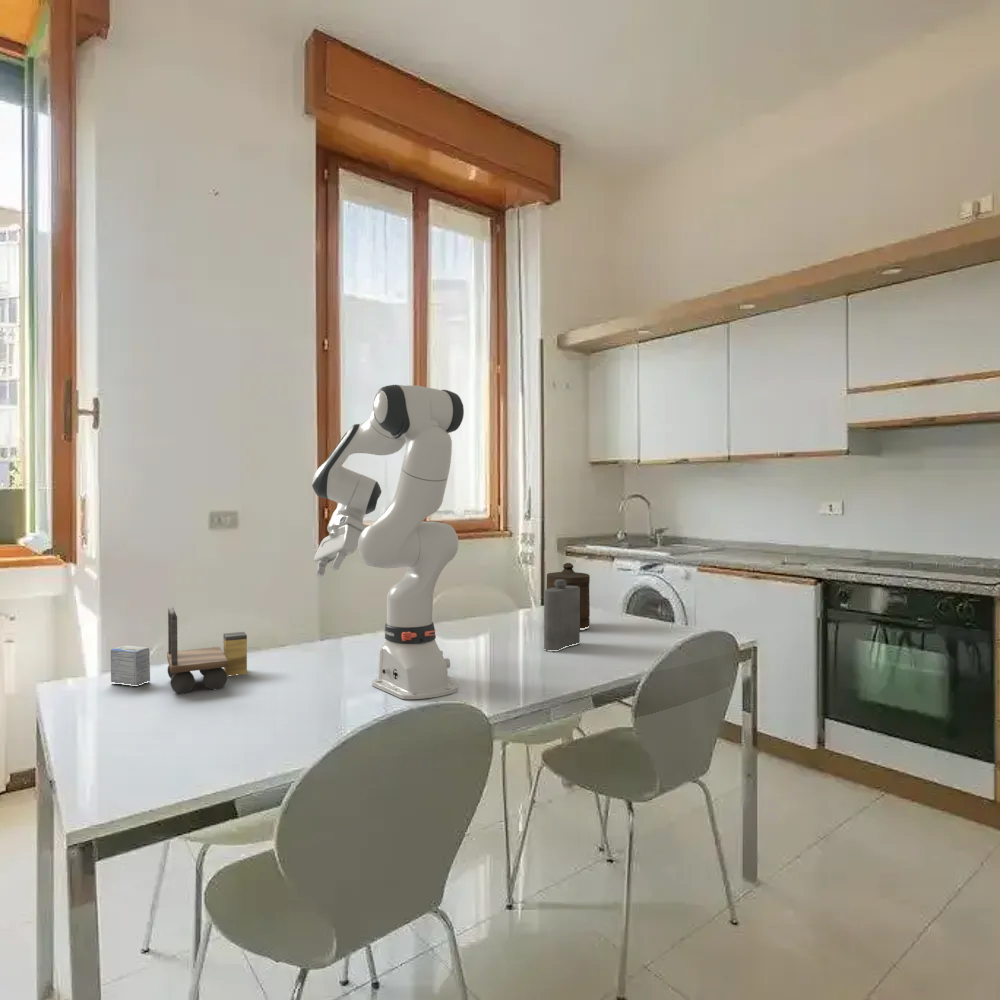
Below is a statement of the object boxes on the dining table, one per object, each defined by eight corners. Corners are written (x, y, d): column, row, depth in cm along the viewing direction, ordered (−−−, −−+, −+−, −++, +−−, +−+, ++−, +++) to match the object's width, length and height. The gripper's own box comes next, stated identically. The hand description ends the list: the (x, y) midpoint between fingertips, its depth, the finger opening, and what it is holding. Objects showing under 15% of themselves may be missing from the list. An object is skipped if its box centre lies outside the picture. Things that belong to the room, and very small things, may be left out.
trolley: (227, 689, 162) (227, 612, 162) (171, 696, 157) (170, 616, 156) (219, 673, 176) (219, 602, 176) (167, 679, 171) (166, 606, 170)
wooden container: (596, 626, 237) (596, 562, 237) (577, 634, 225) (578, 566, 224) (558, 621, 245) (558, 559, 245) (537, 629, 233) (537, 563, 232)
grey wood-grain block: (150, 682, 168) (150, 647, 168) (135, 687, 163) (135, 651, 163) (125, 679, 170) (125, 644, 170) (110, 684, 166) (109, 648, 166)
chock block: (246, 674, 176) (246, 634, 175) (225, 676, 173) (225, 636, 173) (244, 670, 180) (244, 631, 179) (223, 672, 177) (223, 633, 177)
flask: (566, 641, 214) (566, 576, 213) (582, 644, 210) (582, 578, 210) (538, 650, 202) (538, 581, 202) (554, 653, 198) (554, 583, 198)
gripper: (318, 531, 201) (301, 574, 195) (350, 514, 186) (332, 560, 180) (337, 541, 204) (320, 583, 198) (370, 525, 189) (353, 570, 182)
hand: (326, 572), depth 189 cm, fingers open, 8 cm apart
